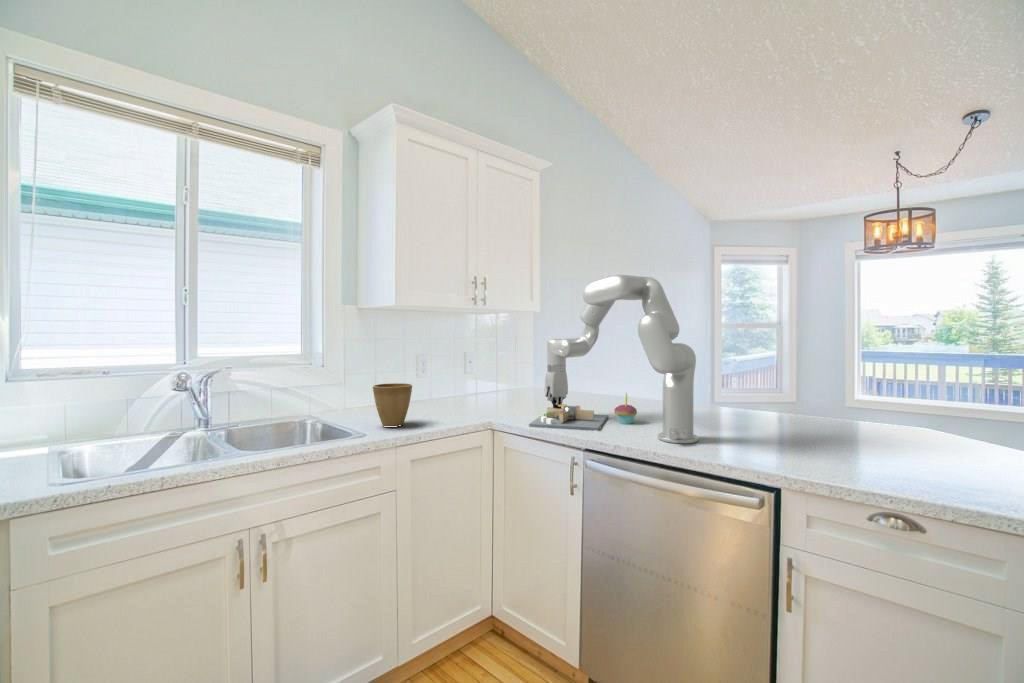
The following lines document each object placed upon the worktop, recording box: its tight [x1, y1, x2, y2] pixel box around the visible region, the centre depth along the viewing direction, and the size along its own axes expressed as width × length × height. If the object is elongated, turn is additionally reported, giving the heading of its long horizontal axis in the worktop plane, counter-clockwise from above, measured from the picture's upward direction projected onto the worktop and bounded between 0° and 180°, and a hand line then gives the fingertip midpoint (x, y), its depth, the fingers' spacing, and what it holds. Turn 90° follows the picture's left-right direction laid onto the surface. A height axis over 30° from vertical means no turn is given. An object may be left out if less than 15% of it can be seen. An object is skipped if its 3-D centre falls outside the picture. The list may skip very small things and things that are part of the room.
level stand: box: [528, 411, 609, 431], centre depth 185 cm, size 26×26×3 cm
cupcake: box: [614, 392, 638, 425], centre depth 181 cm, size 9×8×12 cm
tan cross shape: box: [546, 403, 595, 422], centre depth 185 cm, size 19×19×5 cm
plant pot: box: [372, 382, 413, 427], centre depth 181 cm, size 15×15×16 cm
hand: (557, 413), depth 190 cm, fingers closed
